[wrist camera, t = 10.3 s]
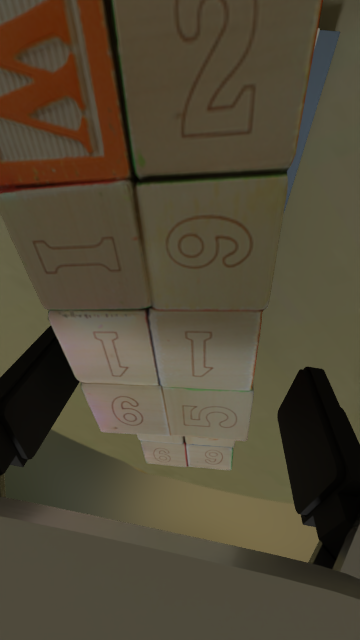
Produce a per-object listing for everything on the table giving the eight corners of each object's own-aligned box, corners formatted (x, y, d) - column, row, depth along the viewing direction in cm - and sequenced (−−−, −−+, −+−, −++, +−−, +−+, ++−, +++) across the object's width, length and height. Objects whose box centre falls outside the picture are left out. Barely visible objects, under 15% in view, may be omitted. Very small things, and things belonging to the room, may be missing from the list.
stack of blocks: (226, 372, 25) (234, 527, 15) (164, 369, 26) (132, 514, 16) (246, 76, 13) (367, -177, 3) (126, 88, 13) (-132, -68, 3)
